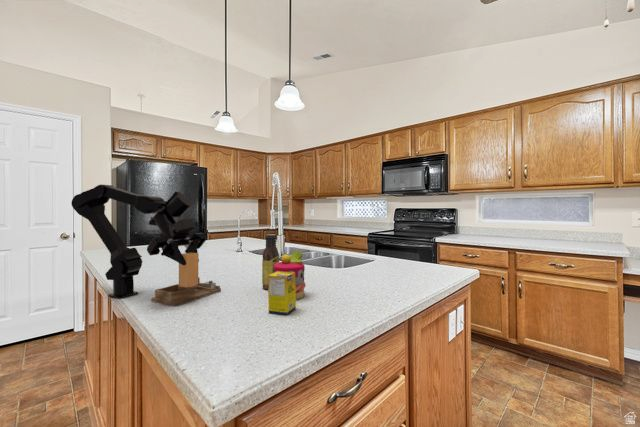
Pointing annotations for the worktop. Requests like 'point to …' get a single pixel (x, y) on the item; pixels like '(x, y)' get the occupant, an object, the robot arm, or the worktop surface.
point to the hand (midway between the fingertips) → (191, 263)
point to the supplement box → (281, 292)
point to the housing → (182, 294)
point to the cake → (295, 266)
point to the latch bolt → (209, 285)
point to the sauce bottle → (269, 258)
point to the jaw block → (189, 270)
